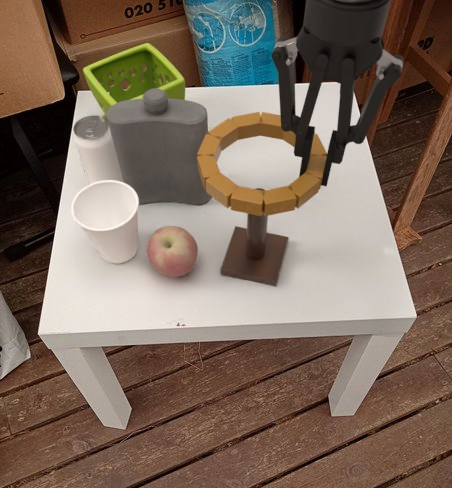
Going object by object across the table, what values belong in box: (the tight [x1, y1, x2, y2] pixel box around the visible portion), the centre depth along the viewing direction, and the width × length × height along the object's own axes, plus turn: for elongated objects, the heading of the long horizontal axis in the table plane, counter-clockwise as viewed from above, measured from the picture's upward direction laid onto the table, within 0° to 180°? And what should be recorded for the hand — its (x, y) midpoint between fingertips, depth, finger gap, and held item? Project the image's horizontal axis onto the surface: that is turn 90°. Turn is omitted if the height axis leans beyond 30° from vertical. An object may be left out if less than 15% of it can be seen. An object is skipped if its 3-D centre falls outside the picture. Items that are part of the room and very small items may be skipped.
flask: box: [106, 88, 212, 206], centre depth 80 cm, size 15×6×20 cm, turn 88°
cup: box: [70, 180, 140, 264], centre depth 78 cm, size 10×10×11 cm
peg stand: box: [220, 187, 290, 287], centre depth 75 cm, size 9×9×14 cm
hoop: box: [197, 111, 328, 217], centre depth 65 cm, size 16×16×2 cm
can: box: [72, 114, 124, 185], centre depth 86 cm, size 6×6×12 cm
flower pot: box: [82, 42, 186, 125], centre depth 92 cm, size 14×14×13 cm
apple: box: [146, 225, 199, 277], centre depth 77 cm, size 8×8×8 cm
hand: (314, 176), depth 64 cm, fingers closed on hoop, 2 cm apart
